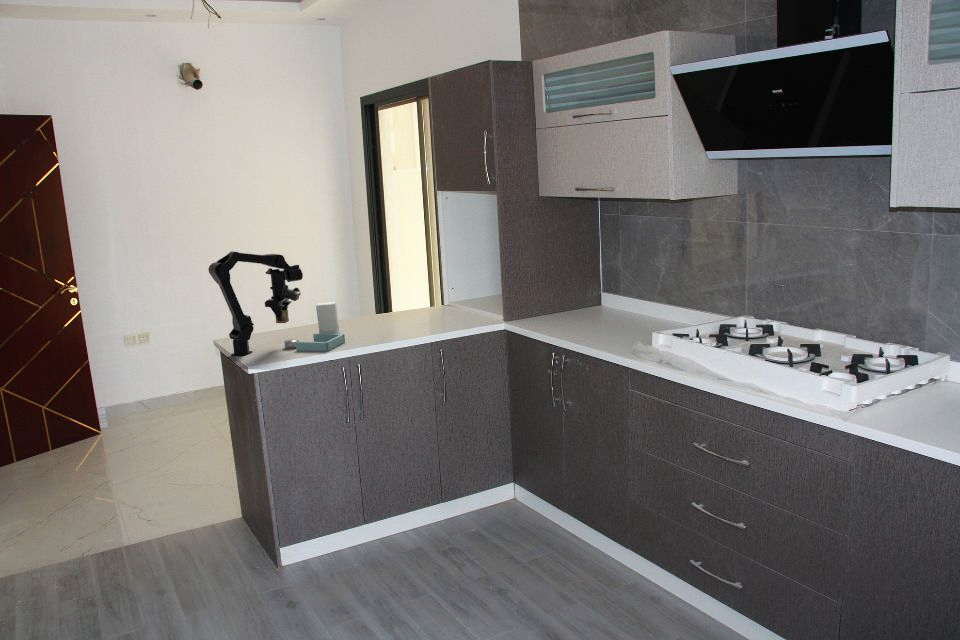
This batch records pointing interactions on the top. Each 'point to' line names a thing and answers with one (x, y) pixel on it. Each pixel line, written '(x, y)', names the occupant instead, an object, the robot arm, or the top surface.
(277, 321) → the walnut block
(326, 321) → the skincare box
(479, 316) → the top surface
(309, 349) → the parts bay
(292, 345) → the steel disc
